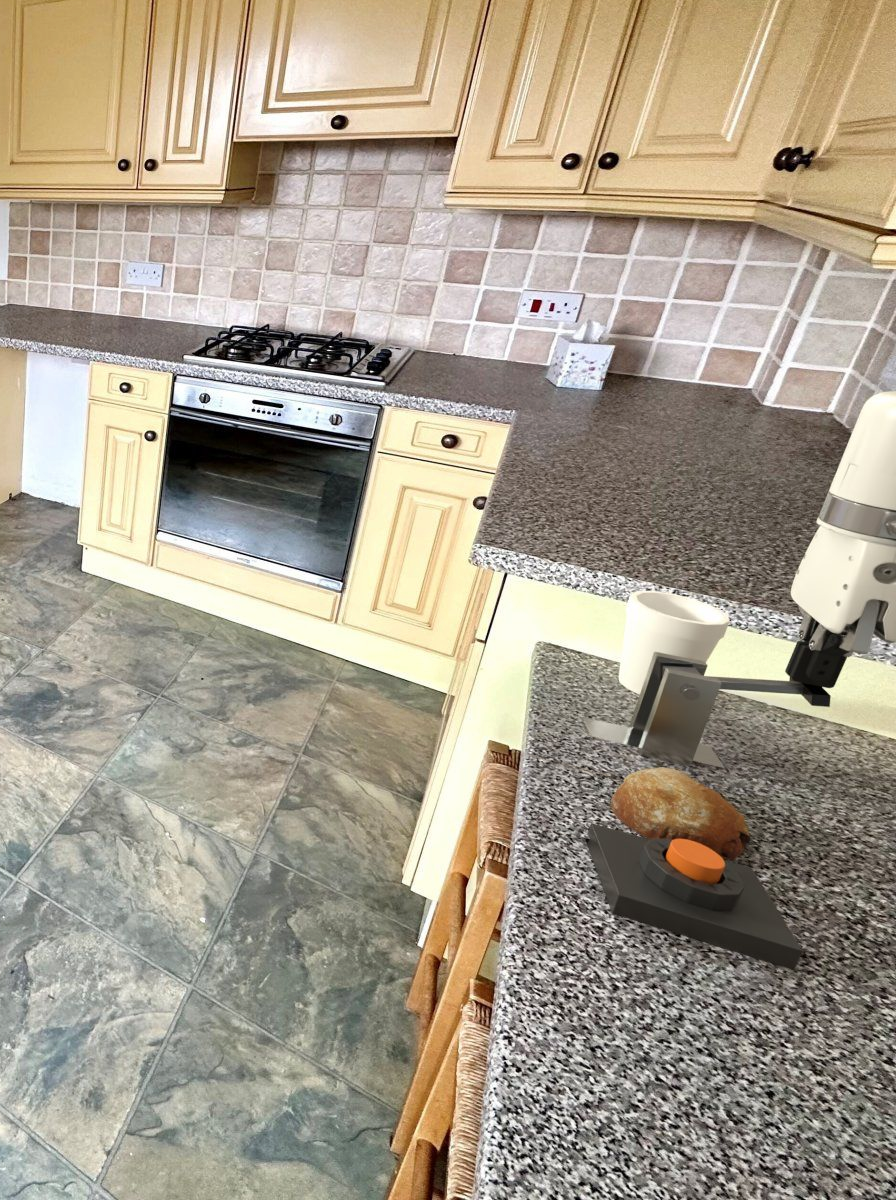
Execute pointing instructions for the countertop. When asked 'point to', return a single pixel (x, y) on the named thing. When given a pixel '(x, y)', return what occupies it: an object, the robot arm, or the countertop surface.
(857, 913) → the countertop surface
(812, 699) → the lever
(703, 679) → the metal lever bracket
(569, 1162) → the countertop surface
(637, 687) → the foam cup
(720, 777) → the countertop surface
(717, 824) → the bread roll
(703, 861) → the button
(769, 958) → the control block
